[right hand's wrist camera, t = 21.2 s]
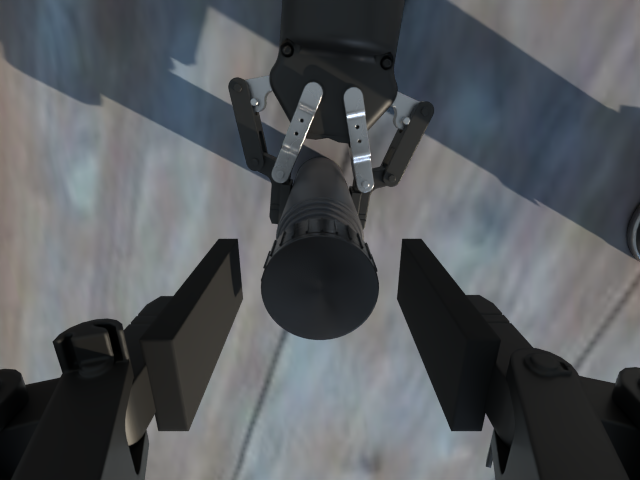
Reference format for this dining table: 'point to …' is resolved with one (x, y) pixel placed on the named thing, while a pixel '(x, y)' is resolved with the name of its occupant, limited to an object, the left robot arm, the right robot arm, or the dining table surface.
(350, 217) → the bottle
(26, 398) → the right robot arm
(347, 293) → the cap
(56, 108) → the dining table surface
